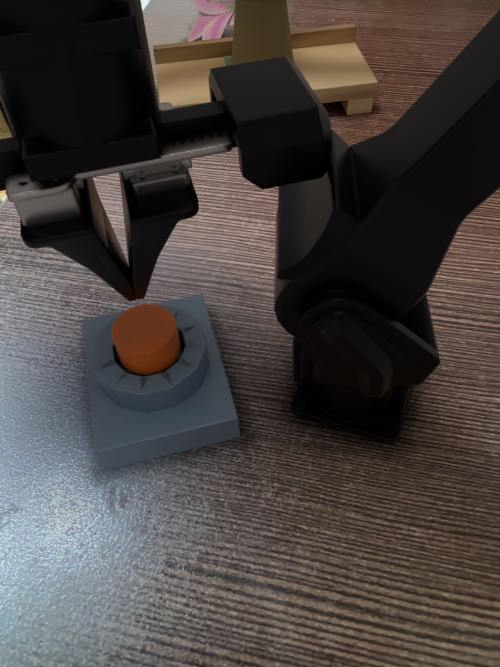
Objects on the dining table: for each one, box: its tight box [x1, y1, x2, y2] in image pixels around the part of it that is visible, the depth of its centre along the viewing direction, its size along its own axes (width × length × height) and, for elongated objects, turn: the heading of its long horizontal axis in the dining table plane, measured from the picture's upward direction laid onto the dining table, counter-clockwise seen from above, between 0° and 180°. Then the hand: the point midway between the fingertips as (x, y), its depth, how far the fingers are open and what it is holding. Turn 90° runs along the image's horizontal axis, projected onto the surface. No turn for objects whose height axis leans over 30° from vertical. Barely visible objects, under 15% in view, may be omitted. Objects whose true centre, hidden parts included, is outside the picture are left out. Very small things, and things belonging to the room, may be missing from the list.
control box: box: [81, 293, 241, 472], centre depth 36 cm, size 10×8×4 cm
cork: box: [231, 0, 294, 65], centre depth 53 cm, size 6×6×11 cm
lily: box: [187, 0, 235, 42], centre depth 65 cm, size 12×12×10 cm
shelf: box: [152, 23, 379, 116], centre depth 58 cm, size 9×20×4 cm, turn 99°
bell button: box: [112, 303, 181, 375], centre depth 34 cm, size 4×4×2 cm
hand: (135, 293), depth 31 cm, fingers closed
